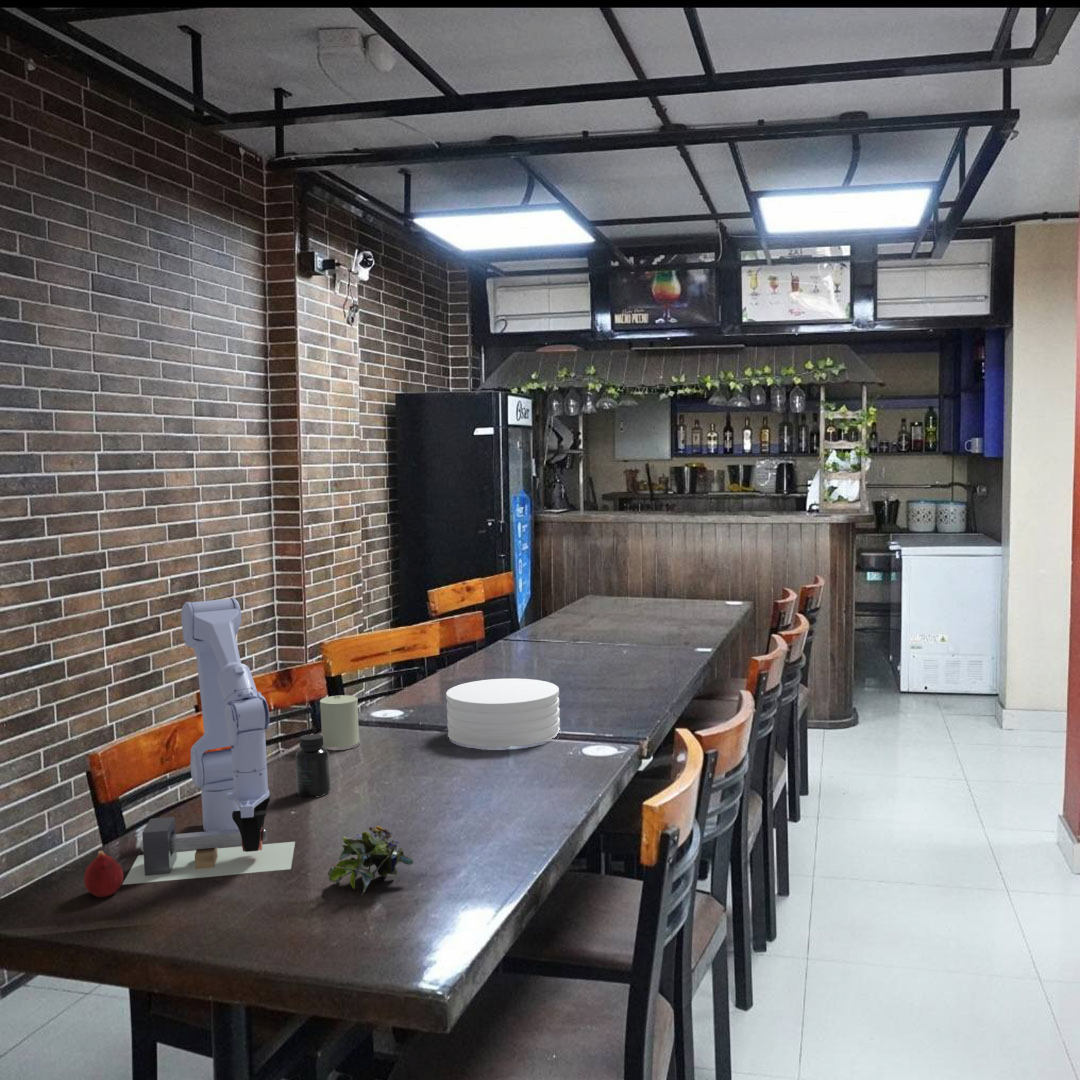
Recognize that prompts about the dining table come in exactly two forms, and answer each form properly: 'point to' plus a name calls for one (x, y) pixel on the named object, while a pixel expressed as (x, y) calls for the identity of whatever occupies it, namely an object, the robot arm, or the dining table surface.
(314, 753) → the supplement bottle
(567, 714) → the dining table surface
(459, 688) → the plate stack
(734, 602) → the dining table surface
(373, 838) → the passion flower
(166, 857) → the block
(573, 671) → the dining table surface
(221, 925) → the dining table surface
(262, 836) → the rod
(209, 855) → the brown rectangular block
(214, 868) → the board
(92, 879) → the red kuri squash
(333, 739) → the can
